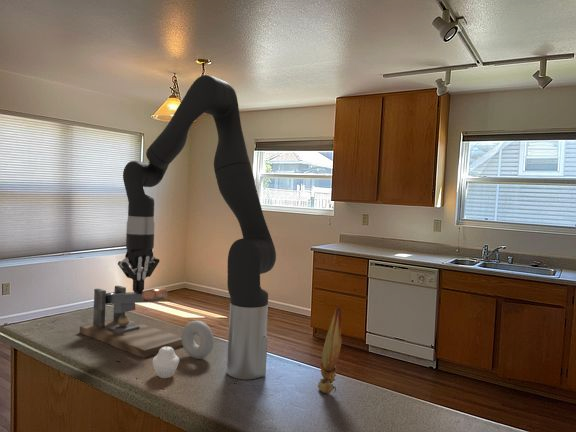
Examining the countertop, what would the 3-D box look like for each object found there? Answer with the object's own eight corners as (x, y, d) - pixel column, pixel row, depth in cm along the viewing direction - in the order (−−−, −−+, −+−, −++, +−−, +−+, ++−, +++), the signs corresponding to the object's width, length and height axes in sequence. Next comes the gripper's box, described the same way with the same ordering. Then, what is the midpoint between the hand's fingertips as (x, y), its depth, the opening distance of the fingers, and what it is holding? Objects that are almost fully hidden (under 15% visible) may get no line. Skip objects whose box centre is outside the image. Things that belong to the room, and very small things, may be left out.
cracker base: (185, 345, 127) (187, 299, 127) (144, 358, 116) (146, 308, 115) (120, 323, 144) (122, 283, 144) (79, 332, 133) (81, 289, 132)
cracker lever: (168, 309, 126) (166, 287, 126) (150, 313, 120) (148, 290, 121) (117, 309, 139) (115, 289, 140) (98, 313, 134) (96, 292, 134)
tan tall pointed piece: (332, 403, 96) (337, 311, 95) (309, 397, 98) (315, 307, 97) (341, 391, 102) (347, 304, 102) (320, 386, 105) (325, 301, 104)
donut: (177, 355, 119) (179, 318, 118) (186, 352, 122) (188, 316, 121) (207, 364, 114) (209, 325, 113) (215, 360, 117) (217, 322, 116)
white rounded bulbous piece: (184, 375, 107) (185, 346, 106) (163, 383, 101) (165, 352, 101) (166, 368, 110) (167, 340, 110) (146, 375, 105) (147, 346, 105)
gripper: (128, 234, 120) (126, 298, 121) (167, 232, 131) (165, 291, 131) (111, 231, 124) (109, 293, 125) (151, 230, 135) (148, 287, 136)
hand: (138, 292), depth 128 cm, fingers closed
